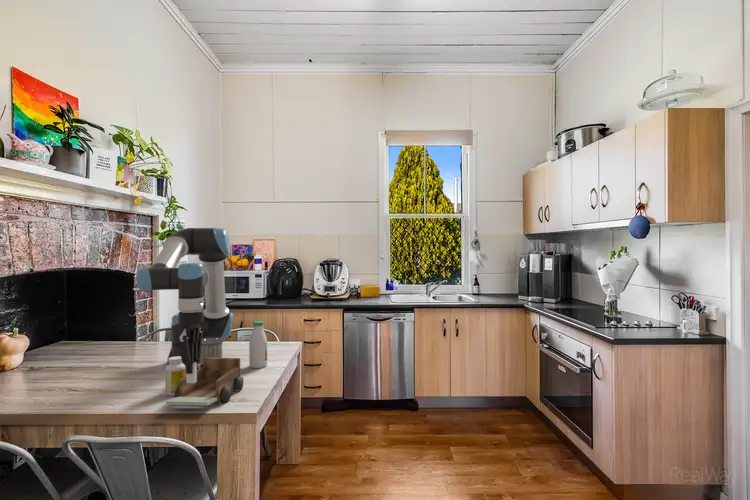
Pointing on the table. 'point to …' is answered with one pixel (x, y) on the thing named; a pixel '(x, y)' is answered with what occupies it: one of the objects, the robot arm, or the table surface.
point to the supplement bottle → (174, 374)
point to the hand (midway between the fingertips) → (191, 382)
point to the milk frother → (210, 350)
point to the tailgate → (191, 401)
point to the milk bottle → (258, 346)
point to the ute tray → (214, 380)
